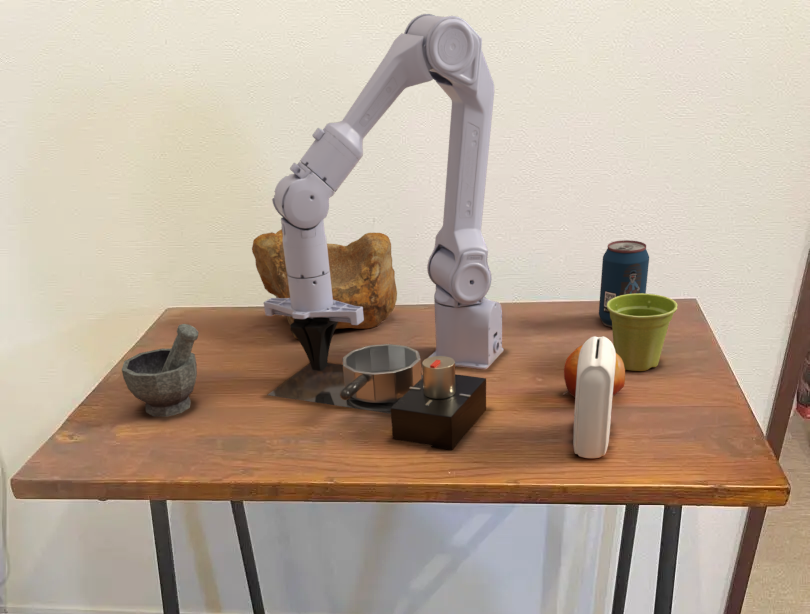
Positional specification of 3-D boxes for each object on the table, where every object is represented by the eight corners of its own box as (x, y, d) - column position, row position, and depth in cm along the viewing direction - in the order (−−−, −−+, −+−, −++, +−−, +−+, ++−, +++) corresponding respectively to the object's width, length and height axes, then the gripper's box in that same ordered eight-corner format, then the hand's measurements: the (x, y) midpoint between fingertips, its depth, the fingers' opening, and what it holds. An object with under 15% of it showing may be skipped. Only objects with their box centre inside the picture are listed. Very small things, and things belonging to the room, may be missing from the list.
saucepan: (366, 371, 127) (364, 340, 124) (433, 380, 123) (431, 348, 120) (310, 418, 115) (306, 385, 112) (382, 430, 111) (379, 396, 108)
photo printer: (575, 420, 111) (581, 326, 104) (610, 422, 110) (618, 327, 103) (570, 459, 102) (575, 359, 96) (607, 461, 102) (615, 360, 95)
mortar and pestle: (121, 422, 118) (99, 337, 111) (149, 393, 125) (130, 312, 119) (199, 425, 116) (182, 338, 109) (223, 395, 123) (208, 312, 117)
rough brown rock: (242, 351, 139) (228, 259, 130) (267, 307, 152) (255, 221, 143) (387, 355, 137) (382, 261, 127) (399, 310, 150) (396, 222, 140)
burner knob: (431, 384, 111) (429, 352, 109) (460, 387, 110) (459, 355, 108) (418, 396, 108) (416, 363, 106) (448, 400, 107) (447, 367, 105)
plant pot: (672, 377, 120) (679, 316, 115) (601, 375, 122) (606, 315, 117) (668, 352, 128) (675, 293, 123) (603, 350, 129) (607, 292, 125)
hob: (267, 396, 122) (267, 394, 122) (313, 362, 132) (313, 360, 132) (403, 417, 114) (403, 415, 114) (441, 379, 124) (441, 377, 124)
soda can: (615, 311, 143) (621, 236, 136) (651, 320, 139) (659, 243, 132) (589, 323, 139) (594, 246, 133) (625, 333, 135) (632, 254, 128)
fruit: (574, 366, 121) (603, 325, 115) (613, 406, 119) (644, 367, 113) (538, 385, 117) (566, 343, 110) (578, 427, 115) (608, 387, 108)
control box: (429, 401, 118) (428, 369, 115) (487, 410, 115) (487, 376, 112) (391, 440, 109) (389, 406, 106) (452, 450, 106) (451, 415, 103)
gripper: (246, 277, 116) (261, 372, 123) (342, 285, 111) (352, 385, 118) (274, 261, 121) (287, 354, 129) (367, 269, 116) (375, 365, 123)
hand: (319, 368), depth 124 cm, fingers closed
